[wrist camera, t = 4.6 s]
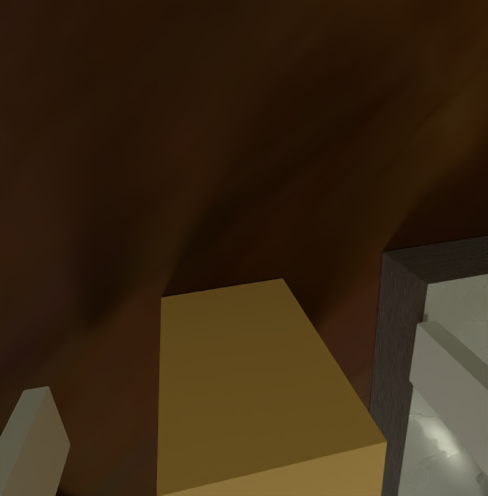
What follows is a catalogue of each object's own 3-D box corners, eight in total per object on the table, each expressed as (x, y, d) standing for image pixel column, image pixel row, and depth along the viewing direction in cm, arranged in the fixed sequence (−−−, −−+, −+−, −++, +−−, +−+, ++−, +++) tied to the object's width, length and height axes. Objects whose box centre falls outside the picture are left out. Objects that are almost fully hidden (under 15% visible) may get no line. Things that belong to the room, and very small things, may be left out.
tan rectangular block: (179, 393, 17) (189, 624, 9) (161, 297, 15) (156, 496, 7) (285, 372, 17) (372, 571, 10) (282, 278, 15) (387, 441, 8)
